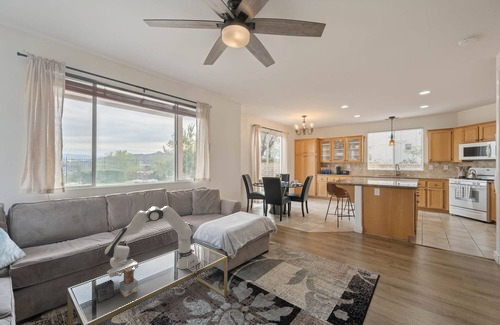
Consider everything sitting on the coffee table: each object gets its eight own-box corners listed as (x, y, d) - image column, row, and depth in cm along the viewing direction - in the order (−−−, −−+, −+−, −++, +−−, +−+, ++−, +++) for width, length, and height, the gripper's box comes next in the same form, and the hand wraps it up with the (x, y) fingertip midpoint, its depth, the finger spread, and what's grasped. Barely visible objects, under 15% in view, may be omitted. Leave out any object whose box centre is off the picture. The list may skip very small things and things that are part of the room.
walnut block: (130, 279, 161) (130, 267, 161) (133, 281, 158) (133, 269, 158) (123, 281, 157) (123, 269, 157) (126, 284, 154) (126, 272, 154)
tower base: (132, 286, 164) (132, 281, 164) (137, 291, 158) (137, 286, 158) (120, 292, 157) (120, 287, 157) (124, 297, 152) (124, 292, 152)
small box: (111, 292, 156) (111, 278, 156) (114, 296, 152) (114, 282, 152) (94, 299, 148) (94, 285, 148) (97, 303, 144) (97, 289, 144)
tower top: (132, 281, 164) (132, 276, 164) (137, 286, 159) (137, 280, 159) (119, 287, 157) (119, 282, 157) (125, 292, 152) (125, 286, 152)
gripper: (105, 267, 160) (111, 274, 151) (134, 258, 175) (141, 263, 166) (105, 275, 160) (111, 282, 151) (134, 265, 175) (141, 271, 166)
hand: (127, 272), depth 159 cm, fingers open, 8 cm apart
